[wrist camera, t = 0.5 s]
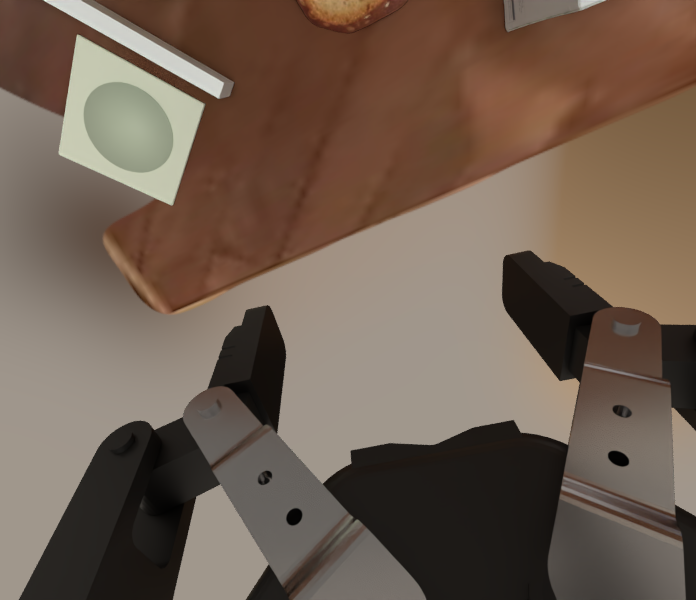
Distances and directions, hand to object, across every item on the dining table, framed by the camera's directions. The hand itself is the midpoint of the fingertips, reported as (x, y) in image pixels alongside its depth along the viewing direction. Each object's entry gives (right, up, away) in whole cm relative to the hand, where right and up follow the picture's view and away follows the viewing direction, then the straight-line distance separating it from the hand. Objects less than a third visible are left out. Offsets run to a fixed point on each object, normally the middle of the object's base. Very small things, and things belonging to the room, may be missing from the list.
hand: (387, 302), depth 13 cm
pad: (-21, +15, +20) cm, 32 cm away
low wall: (-18, +21, +17) cm, 33 cm away
